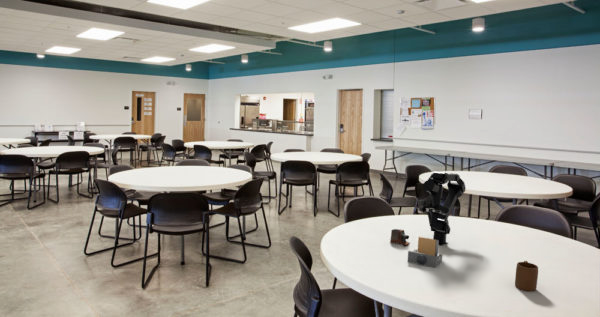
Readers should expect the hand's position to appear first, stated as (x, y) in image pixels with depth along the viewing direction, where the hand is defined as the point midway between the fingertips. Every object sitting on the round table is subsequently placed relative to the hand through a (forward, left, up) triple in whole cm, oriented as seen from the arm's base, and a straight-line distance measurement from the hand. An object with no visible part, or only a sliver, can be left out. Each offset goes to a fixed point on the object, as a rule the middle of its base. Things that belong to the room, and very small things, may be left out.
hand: (431, 226), depth 203 cm
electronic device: (+6, -14, -13) cm, 20 cm away
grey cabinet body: (+15, +10, -12) cm, 22 cm away
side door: (+10, +7, -12) cm, 17 cm away
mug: (0, +48, -12) cm, 50 cm away
